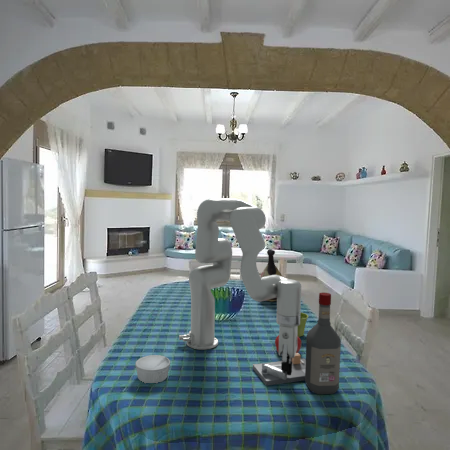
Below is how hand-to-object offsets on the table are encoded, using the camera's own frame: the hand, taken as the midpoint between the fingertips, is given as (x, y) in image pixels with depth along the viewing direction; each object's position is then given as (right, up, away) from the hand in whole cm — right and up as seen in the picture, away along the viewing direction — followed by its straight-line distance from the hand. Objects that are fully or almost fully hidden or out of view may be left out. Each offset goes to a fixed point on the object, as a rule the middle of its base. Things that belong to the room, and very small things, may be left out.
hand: (286, 373), depth 122 cm
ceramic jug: (+7, +5, +95) cm, 96 cm away
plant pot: (+11, 0, +41) cm, 43 cm away
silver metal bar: (-4, 0, +1) cm, 4 cm away
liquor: (+11, -3, -3) cm, 11 cm away
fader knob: (+5, 0, +10) cm, 11 cm away
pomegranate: (+4, -1, +23) cm, 23 cm away
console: (+1, -2, +6) cm, 6 cm away
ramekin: (-44, -2, +1) cm, 44 cm away
